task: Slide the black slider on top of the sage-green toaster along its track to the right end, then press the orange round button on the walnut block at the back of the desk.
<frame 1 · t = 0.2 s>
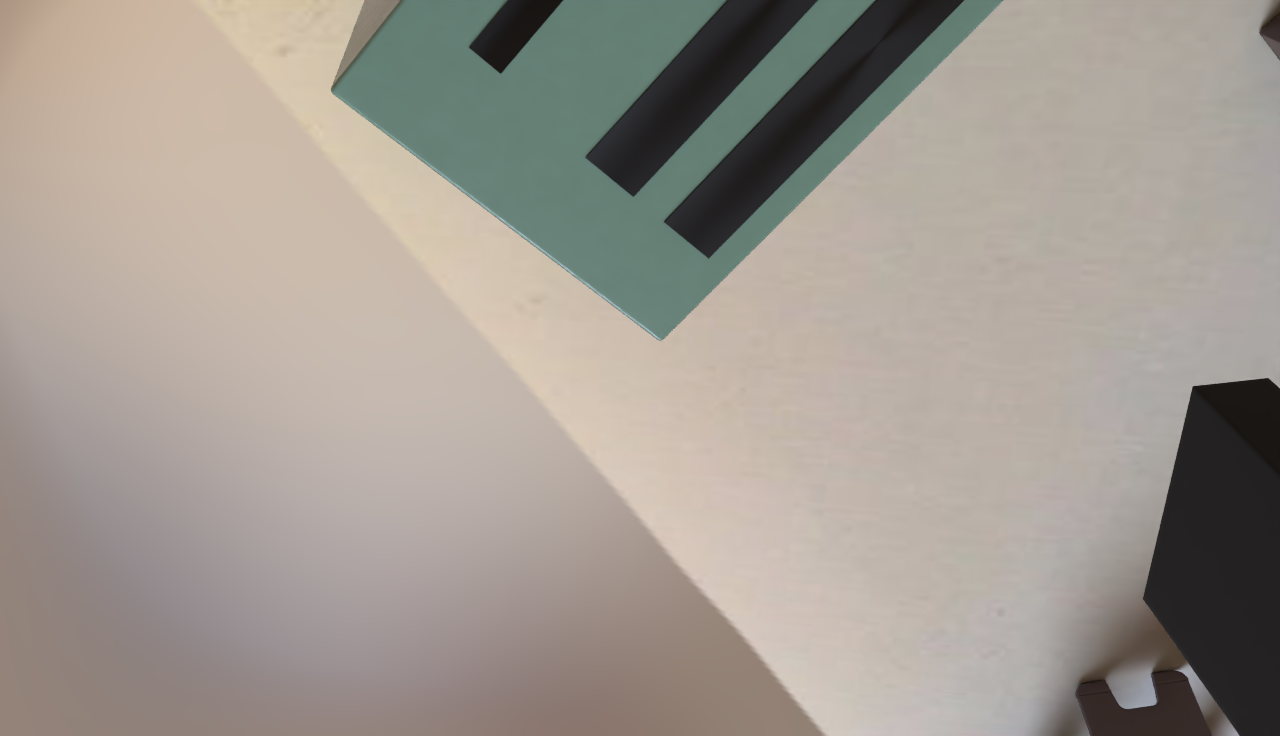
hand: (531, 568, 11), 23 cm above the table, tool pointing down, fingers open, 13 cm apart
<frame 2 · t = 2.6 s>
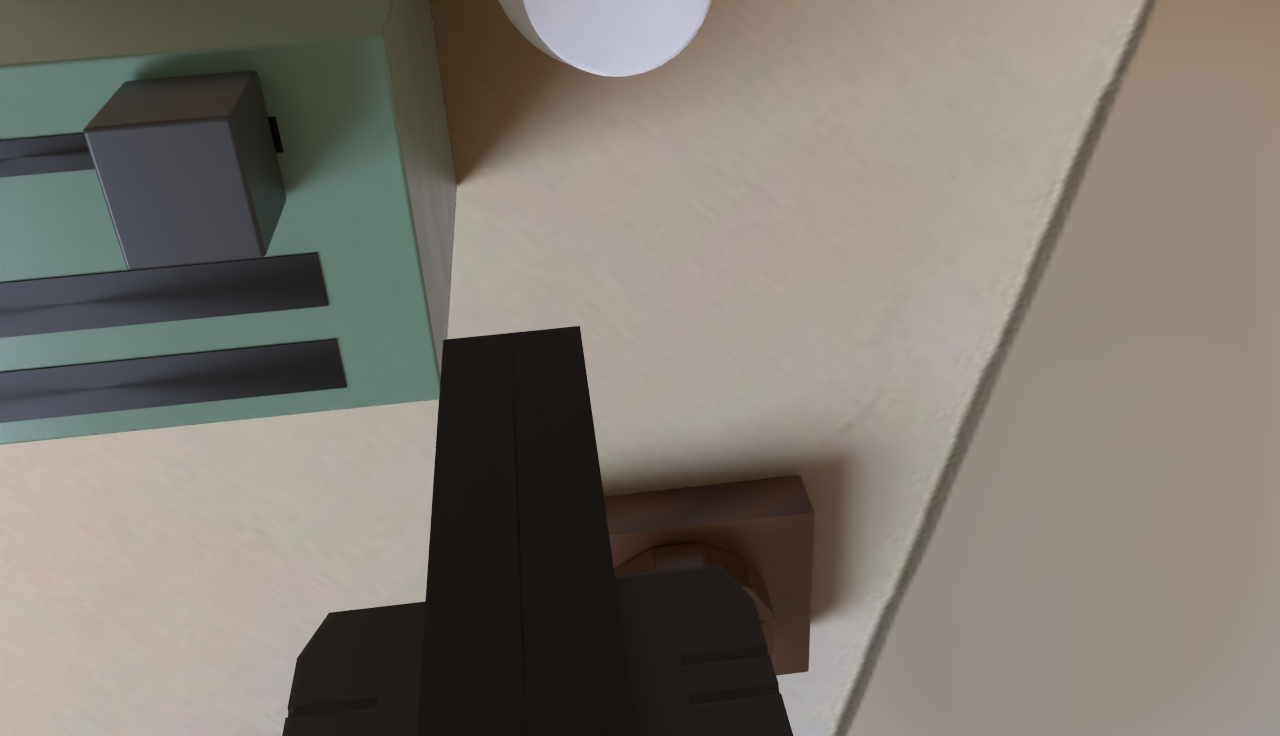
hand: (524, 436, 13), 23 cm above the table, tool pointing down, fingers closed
slider: (193, 168, 20), point 13 cm above the table, slide at 0.0 cm
toaster: (191, 80, 33), on the table
button block: (670, 571, 44), on the table
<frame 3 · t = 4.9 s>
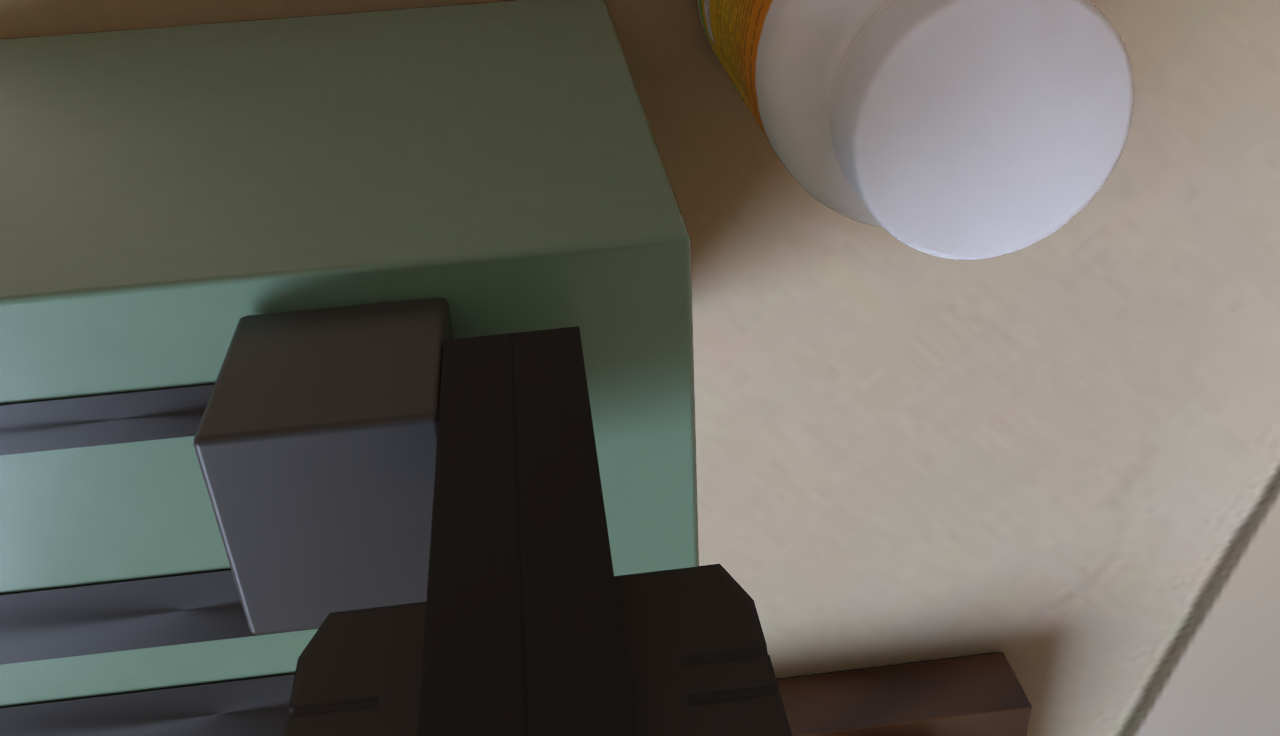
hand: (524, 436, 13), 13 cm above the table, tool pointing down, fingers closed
slider: (352, 459, 13), point 13 cm above the table, slide at 0.6 cm, touching gripper
toaster: (297, 203, 25), on the table
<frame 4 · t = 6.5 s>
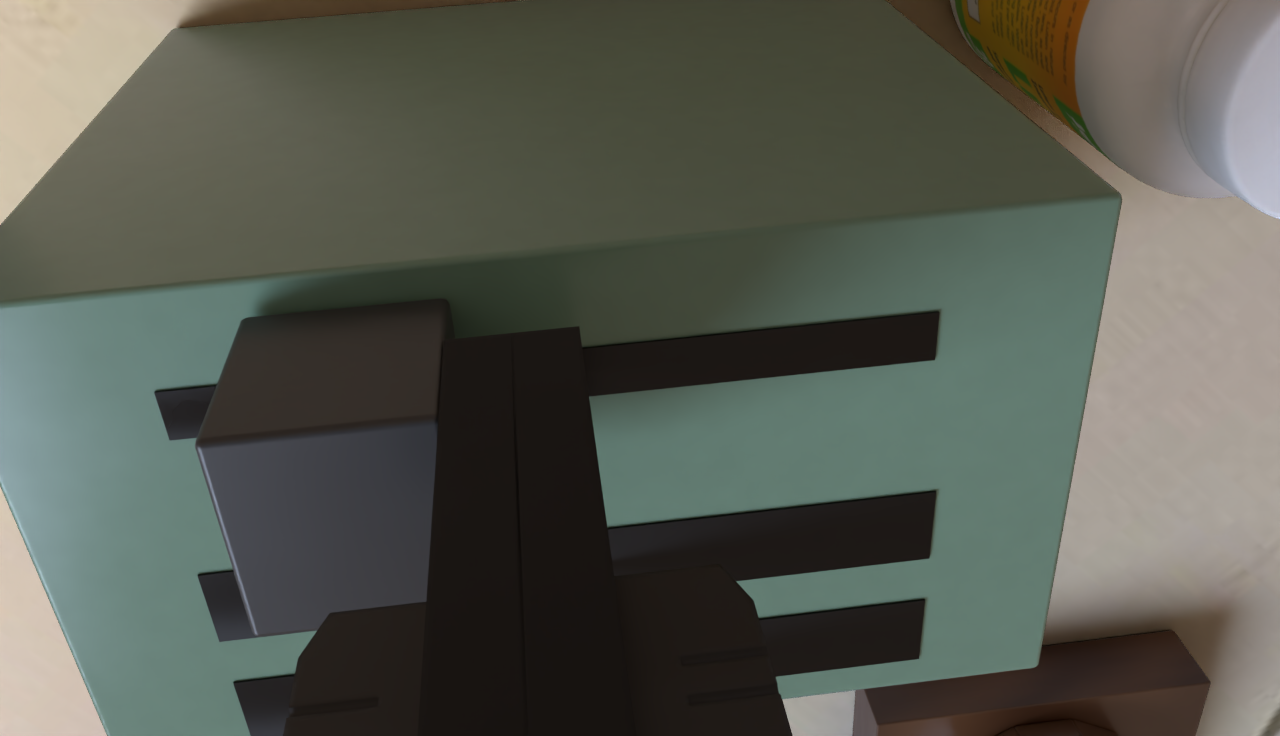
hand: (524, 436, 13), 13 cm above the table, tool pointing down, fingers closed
slider: (354, 460, 13), point 13 cm above the table, slide at 5.9 cm, touching gripper
toaster: (539, 182, 26), on the table
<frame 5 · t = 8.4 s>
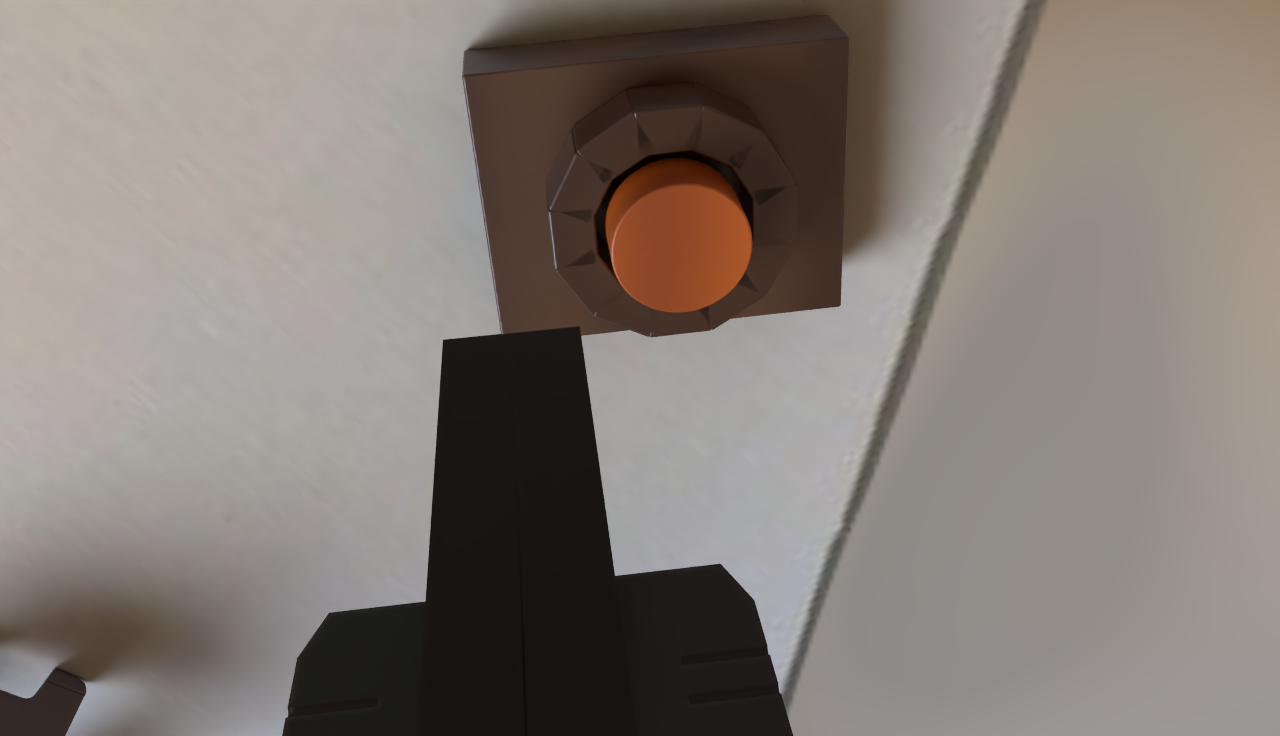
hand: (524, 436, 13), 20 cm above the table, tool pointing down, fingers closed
start button: (677, 235, 30), point 4 cm above the table, slide at 0.1 cm
button block: (656, 169, 33), on the table
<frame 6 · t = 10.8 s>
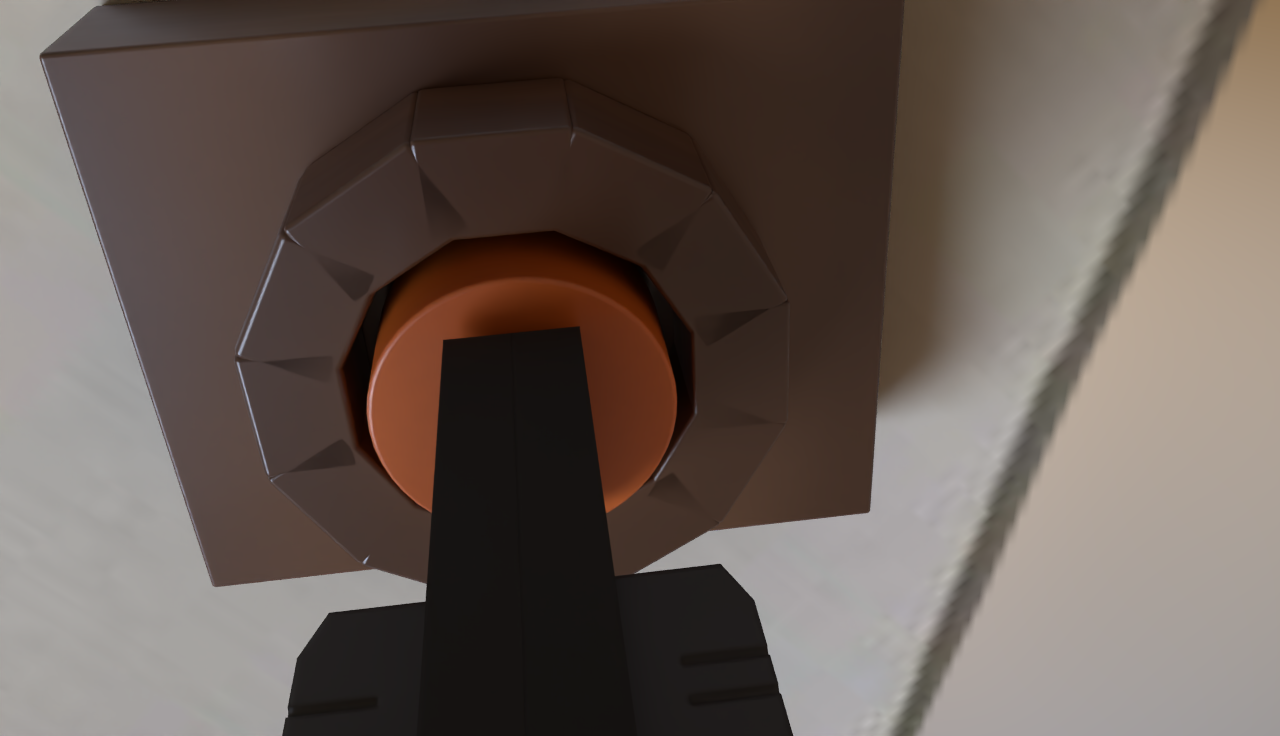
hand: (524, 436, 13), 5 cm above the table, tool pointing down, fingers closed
start button: (522, 377, 14), point 4 cm above the table, slide at -0.7 cm, touching gripper
button block: (516, 249, 17), on the table
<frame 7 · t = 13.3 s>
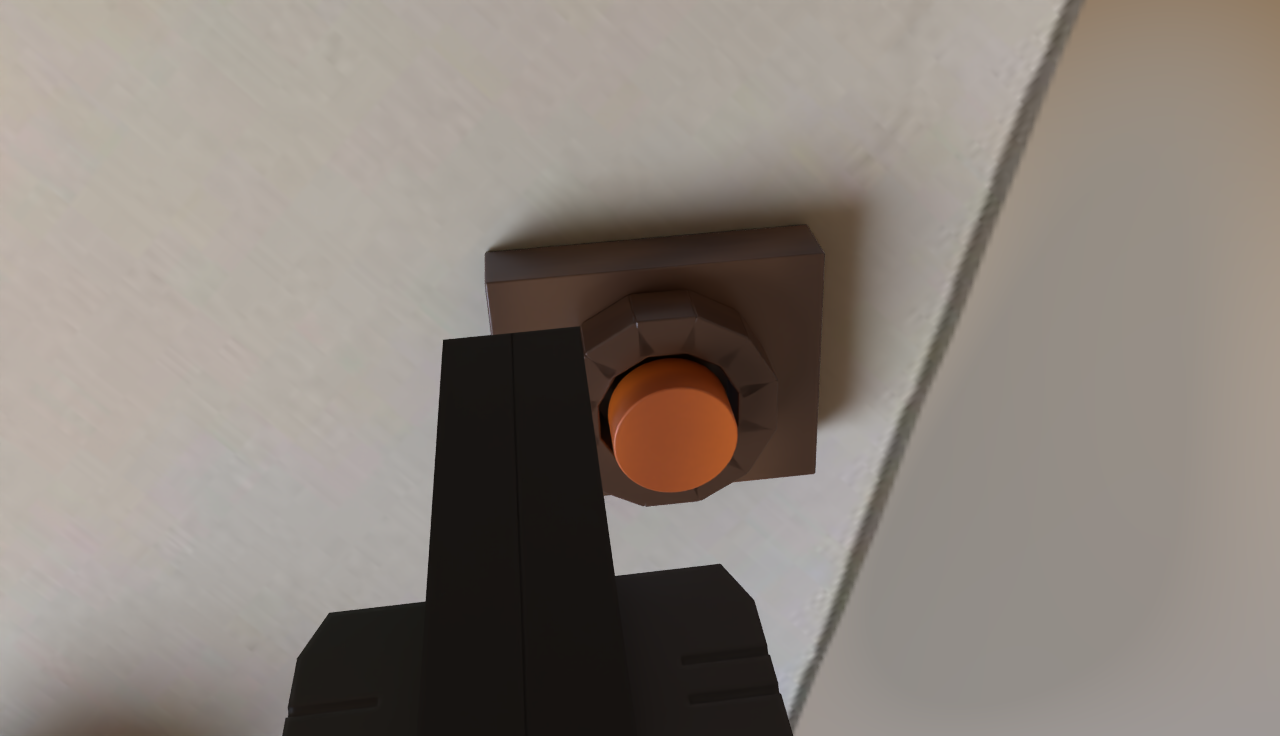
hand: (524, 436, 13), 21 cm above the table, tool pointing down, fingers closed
start button: (671, 425, 34), point 4 cm above the table, slide at 0.1 cm
button block: (652, 350, 37), on the table
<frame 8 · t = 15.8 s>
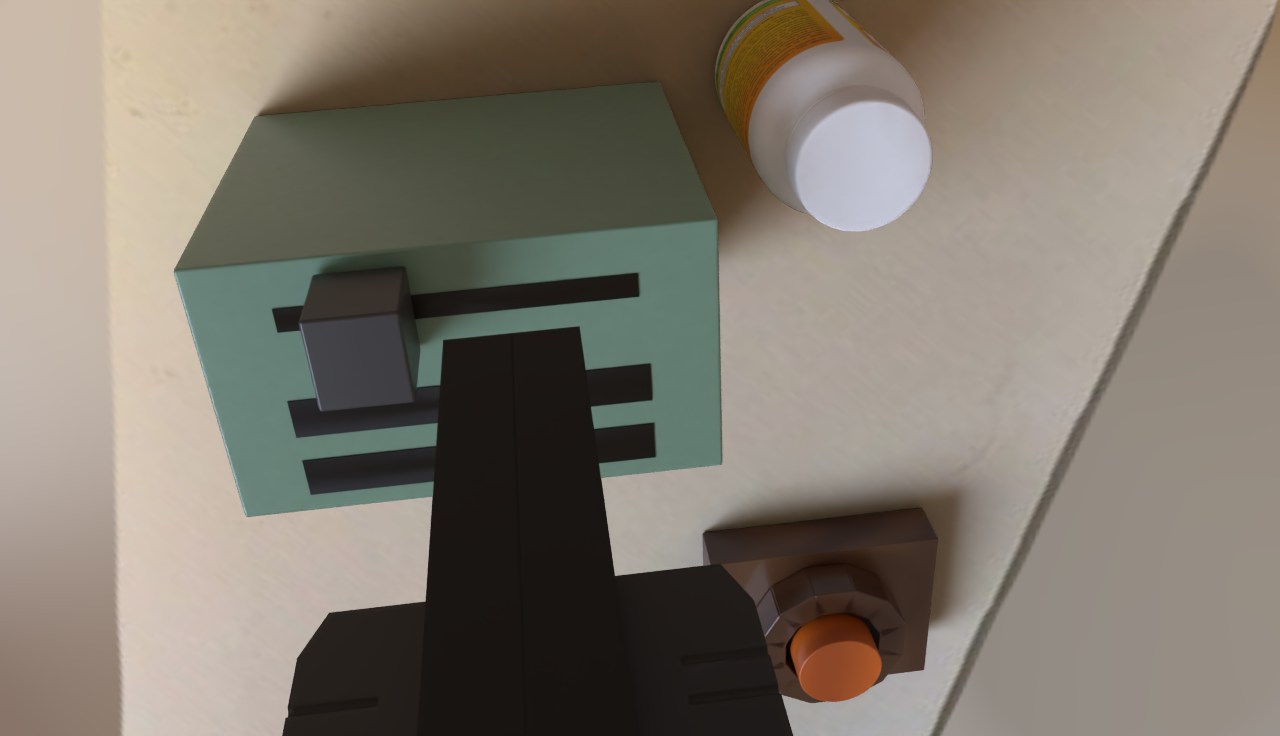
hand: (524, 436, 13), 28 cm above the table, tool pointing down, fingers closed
start button: (835, 657, 50), point 4 cm above the table, slide at 0.1 cm
slider: (363, 337, 29), point 13 cm above the table, slide at 5.9 cm
toaster: (474, 204, 42), on the table
button block: (810, 587, 53), on the table
supplement bottle: (786, 66, 41), on the table
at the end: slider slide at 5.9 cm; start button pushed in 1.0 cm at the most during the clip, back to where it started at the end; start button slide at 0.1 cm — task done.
